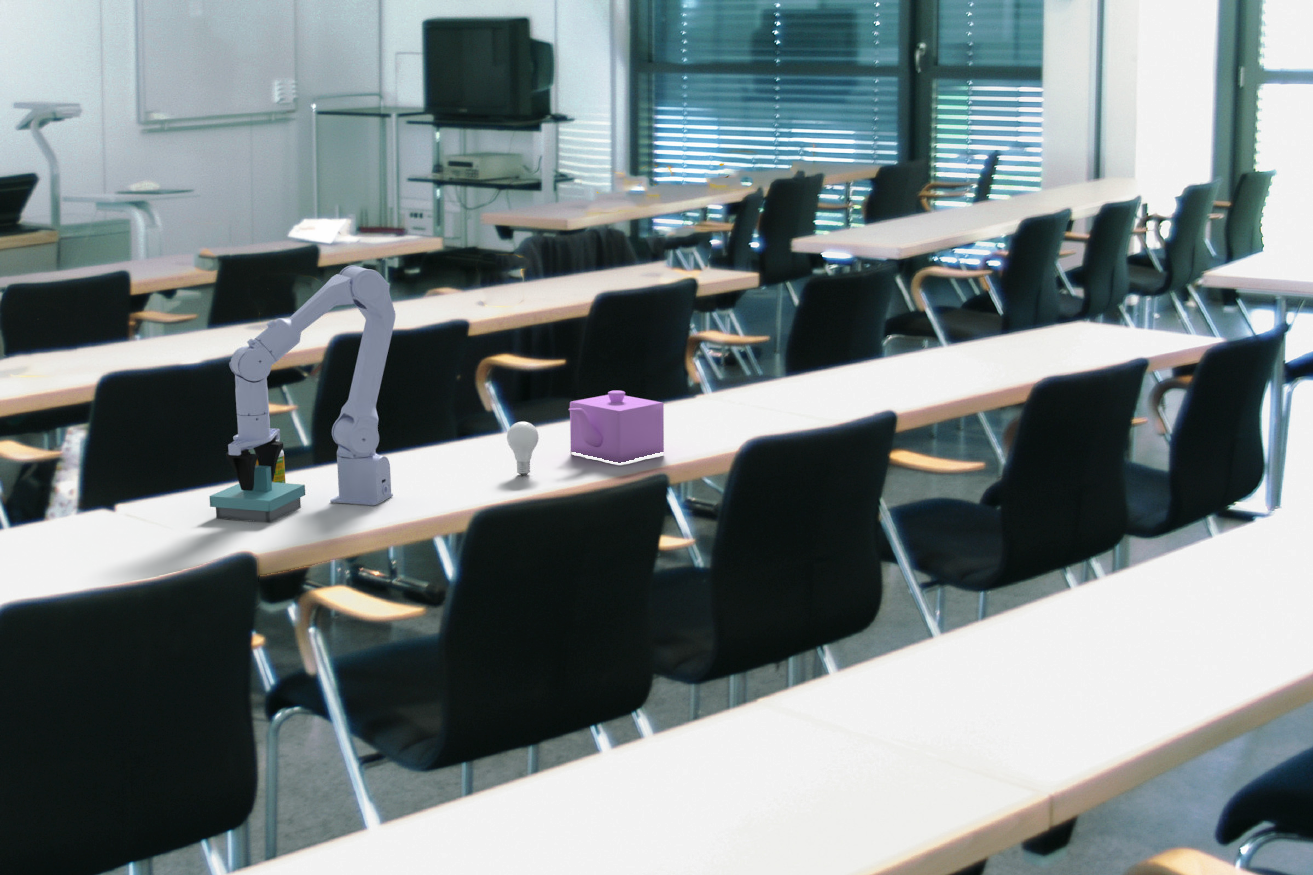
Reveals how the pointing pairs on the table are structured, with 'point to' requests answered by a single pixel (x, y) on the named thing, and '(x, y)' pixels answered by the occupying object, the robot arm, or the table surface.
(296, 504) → the tub
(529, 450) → the lightbulb
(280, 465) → the supplement bottle
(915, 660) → the table surface
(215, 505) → the lid
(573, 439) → the teapot
